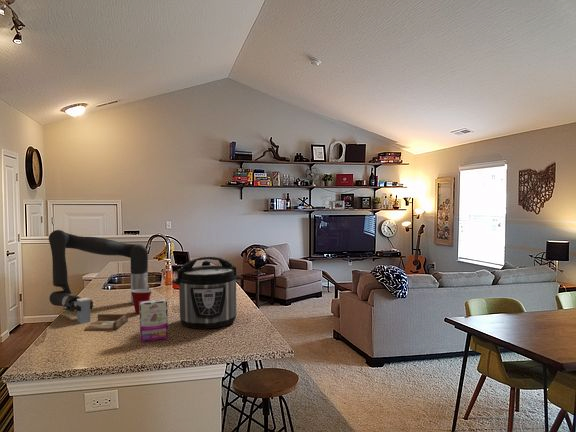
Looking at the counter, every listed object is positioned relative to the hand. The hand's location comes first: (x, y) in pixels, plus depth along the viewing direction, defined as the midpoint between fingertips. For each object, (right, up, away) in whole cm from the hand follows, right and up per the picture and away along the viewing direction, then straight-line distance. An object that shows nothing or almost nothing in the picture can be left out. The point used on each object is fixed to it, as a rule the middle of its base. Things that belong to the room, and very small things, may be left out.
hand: (85, 308), depth 207 cm
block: (-2, -7, +2) cm, 8 cm away
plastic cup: (+20, -7, +19) cm, 29 cm away
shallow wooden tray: (+12, -7, -5) cm, 15 cm away
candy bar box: (+40, -8, -25) cm, 48 cm away
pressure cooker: (+59, -7, 0) cm, 59 cm away
